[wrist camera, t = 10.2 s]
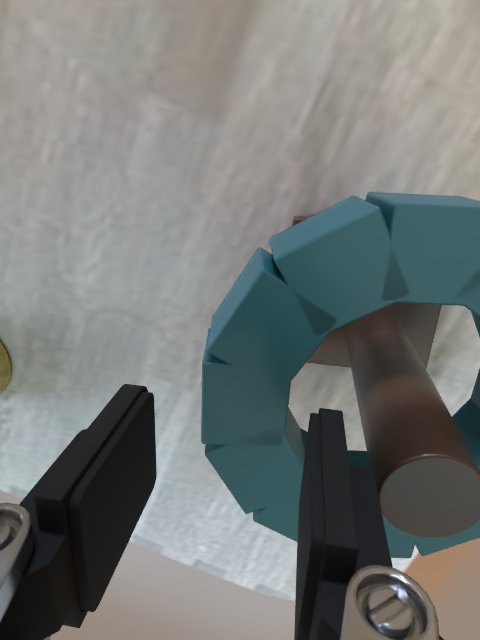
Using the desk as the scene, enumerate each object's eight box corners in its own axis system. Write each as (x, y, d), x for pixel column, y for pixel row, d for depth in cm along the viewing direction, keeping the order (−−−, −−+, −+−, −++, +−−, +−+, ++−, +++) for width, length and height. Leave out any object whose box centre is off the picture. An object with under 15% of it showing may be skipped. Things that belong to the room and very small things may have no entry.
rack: (294, 216, 22) (267, 316, 9) (453, 227, 21) (715, 361, 8) (281, 352, 25) (246, 590, 11) (420, 367, 24) (565, 648, 10)
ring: (211, 184, 13) (204, 193, 10) (614, 203, 13) (700, 217, 10) (205, 494, 17) (199, 551, 15) (500, 506, 18) (541, 564, 15)
